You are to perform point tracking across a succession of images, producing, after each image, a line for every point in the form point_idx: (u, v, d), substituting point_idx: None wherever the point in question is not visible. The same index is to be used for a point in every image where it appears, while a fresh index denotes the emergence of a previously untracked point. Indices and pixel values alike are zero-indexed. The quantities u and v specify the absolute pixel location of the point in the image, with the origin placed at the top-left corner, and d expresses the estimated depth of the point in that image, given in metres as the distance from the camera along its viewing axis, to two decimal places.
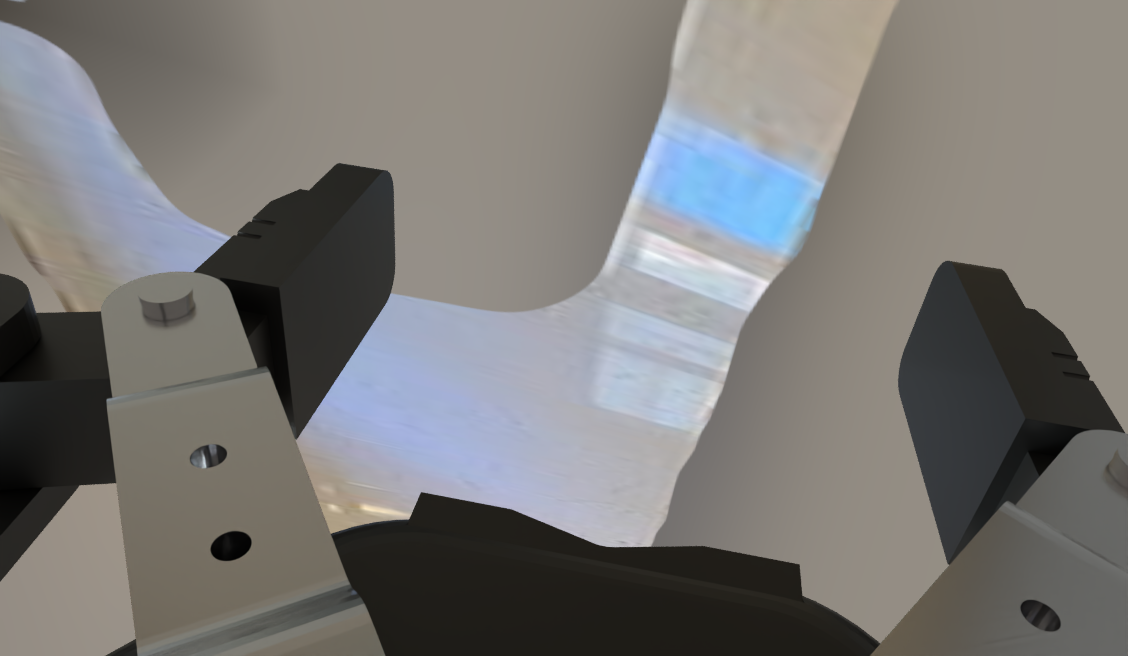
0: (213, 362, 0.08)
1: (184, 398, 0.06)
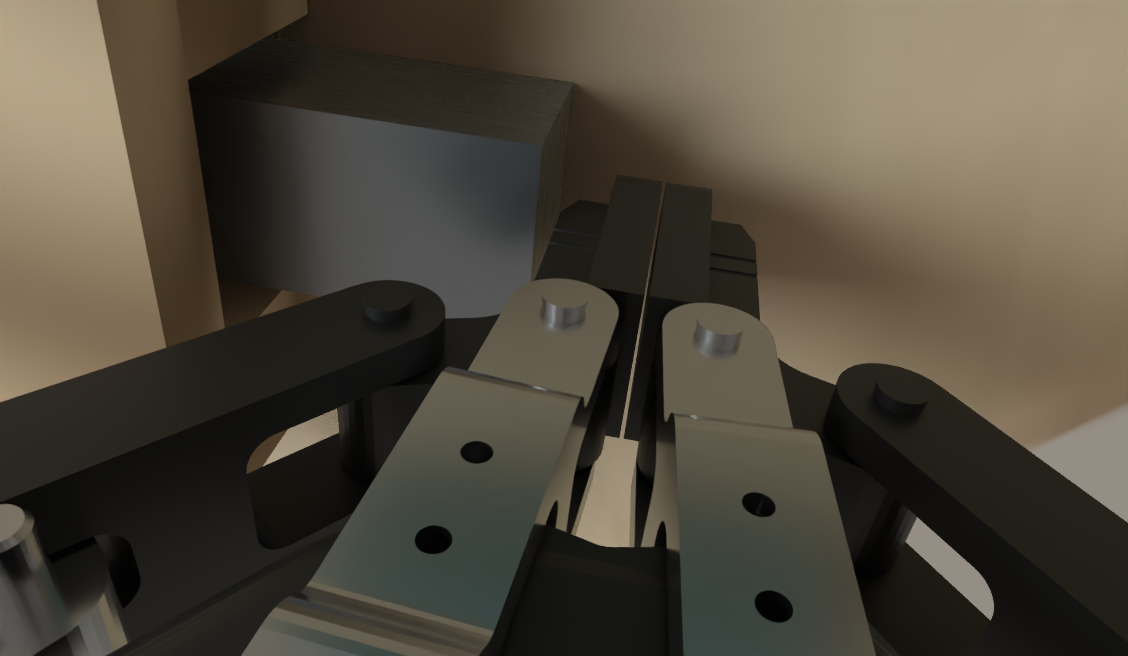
0: (560, 373, 0.08)
1: (497, 393, 0.07)
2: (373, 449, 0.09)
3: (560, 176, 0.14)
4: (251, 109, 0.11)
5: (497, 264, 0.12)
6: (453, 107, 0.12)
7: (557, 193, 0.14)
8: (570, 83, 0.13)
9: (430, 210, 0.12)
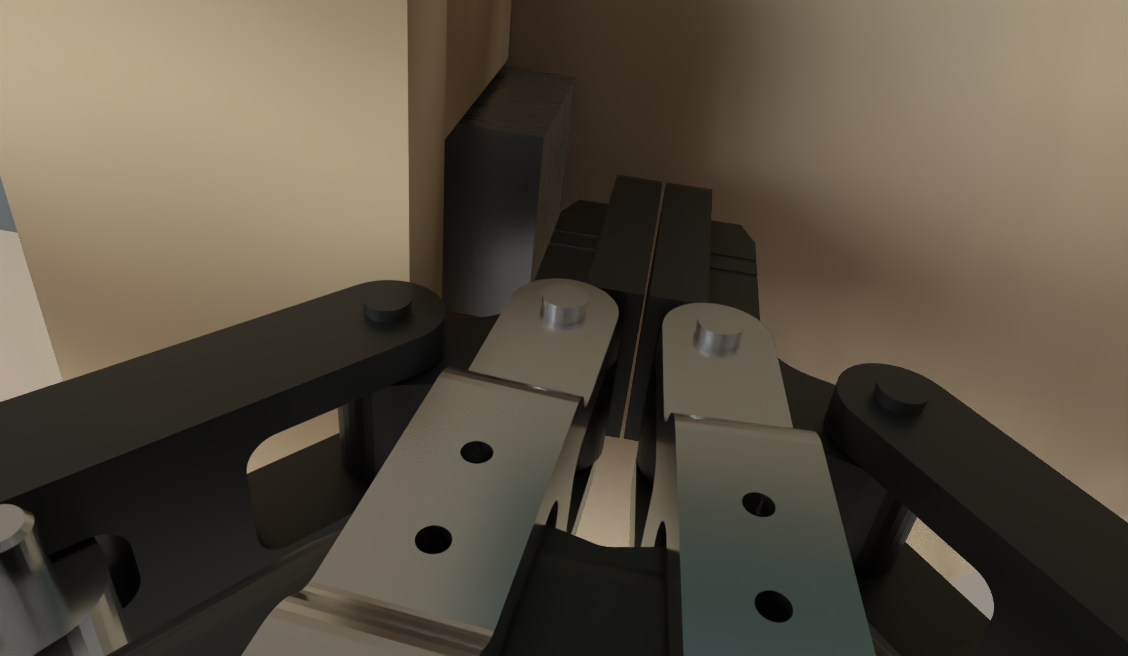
0: (560, 373, 0.08)
1: (497, 393, 0.07)
2: (373, 449, 0.09)
3: (562, 170, 0.14)
4: None
5: (498, 255, 0.12)
6: None
7: (558, 187, 0.14)
8: None
9: None
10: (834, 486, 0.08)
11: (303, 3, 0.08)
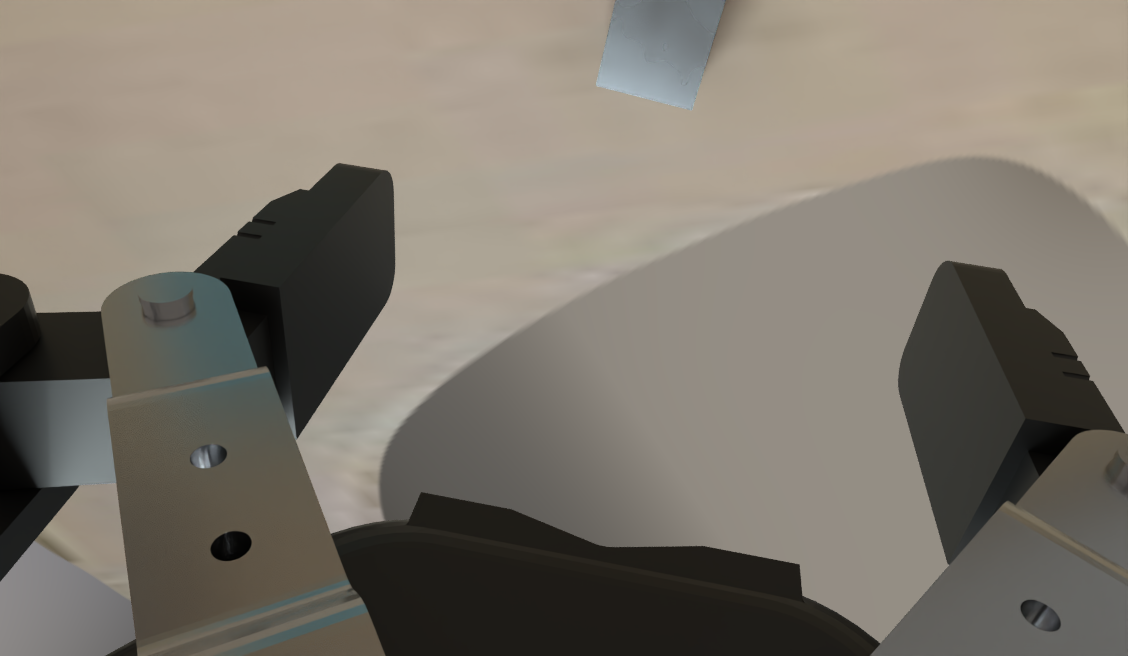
0: (213, 362, 0.08)
1: (184, 398, 0.06)
2: (6, 449, 0.08)
3: None
4: None
5: None
6: None
7: None
8: None
9: None
10: None
11: None
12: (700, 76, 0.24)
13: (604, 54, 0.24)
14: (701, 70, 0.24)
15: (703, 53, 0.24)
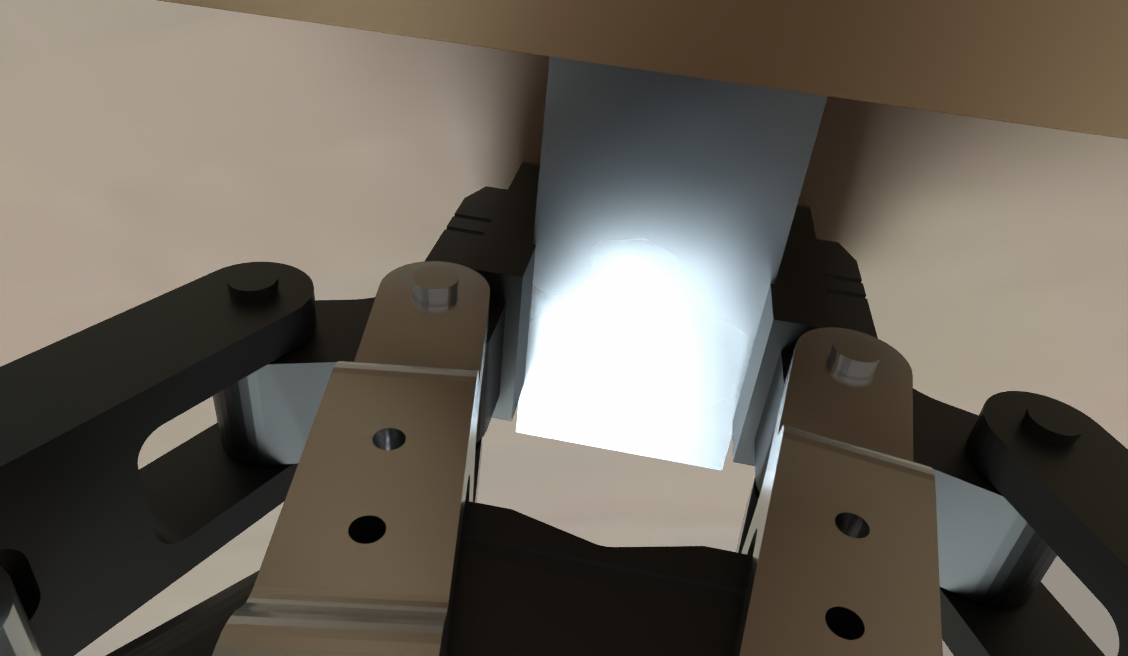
0: (446, 353, 0.08)
1: (395, 379, 0.07)
2: (258, 430, 0.09)
3: None
4: None
5: None
6: None
7: None
8: None
9: None
10: (981, 518, 0.08)
11: None
12: (733, 414, 0.11)
13: None
14: (735, 403, 0.11)
15: (734, 372, 0.11)
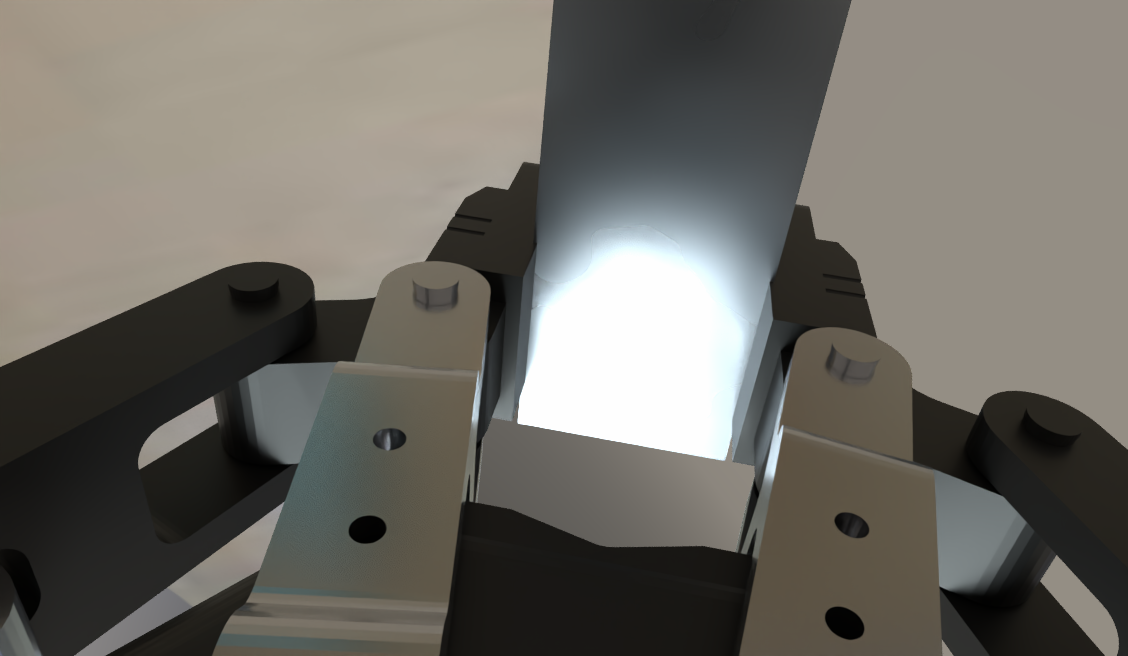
0: (446, 353, 0.08)
1: (395, 379, 0.07)
2: (259, 430, 0.09)
3: None
4: None
5: None
6: None
7: None
8: None
9: None
10: (980, 518, 0.08)
11: None
12: (736, 403, 0.11)
13: None
14: (737, 392, 0.11)
15: (738, 360, 0.11)
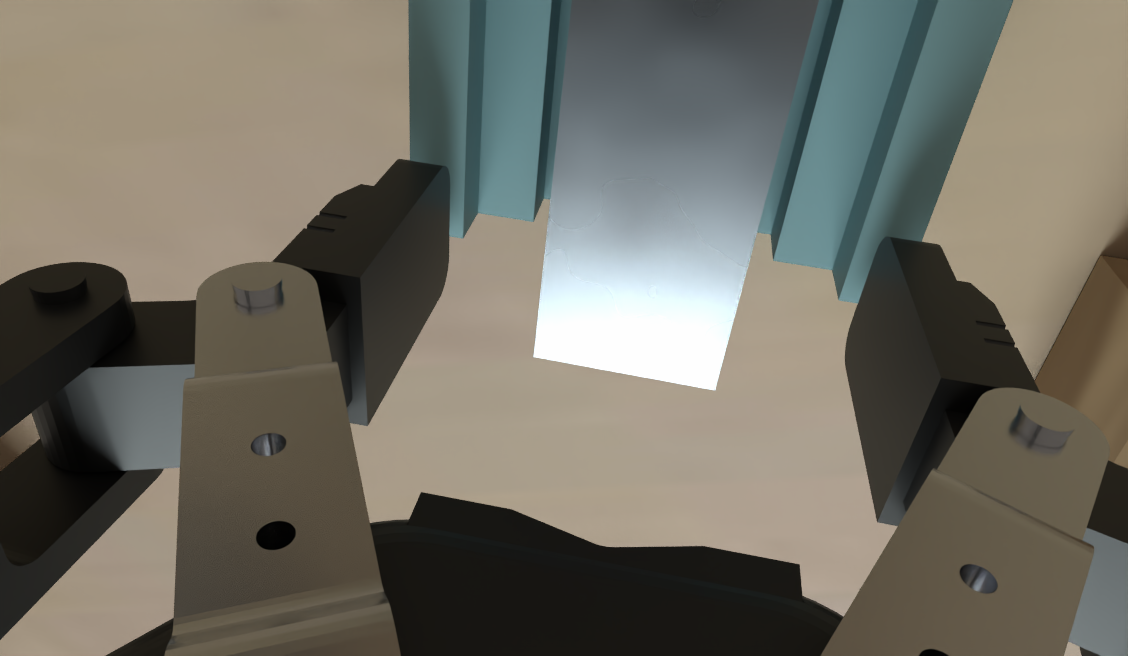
0: (291, 352, 0.08)
1: (255, 385, 0.07)
2: (93, 435, 0.09)
3: None
4: None
5: None
6: None
7: None
8: None
9: None
10: None
11: None
12: (725, 337, 0.13)
13: (541, 308, 0.13)
14: (726, 327, 0.13)
15: (726, 298, 0.12)
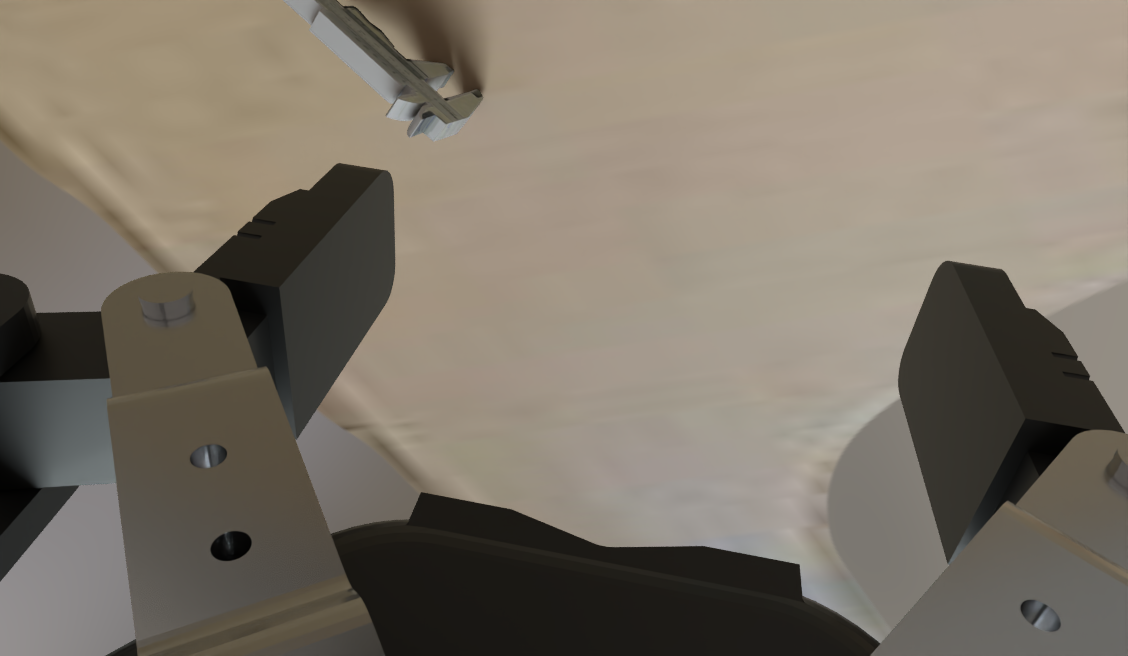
0: (213, 362, 0.08)
1: (183, 398, 0.06)
2: (6, 449, 0.08)
3: None
4: None
5: None
6: None
7: None
8: None
9: None
10: None
11: None
12: None
13: None
14: None
15: None
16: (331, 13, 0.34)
